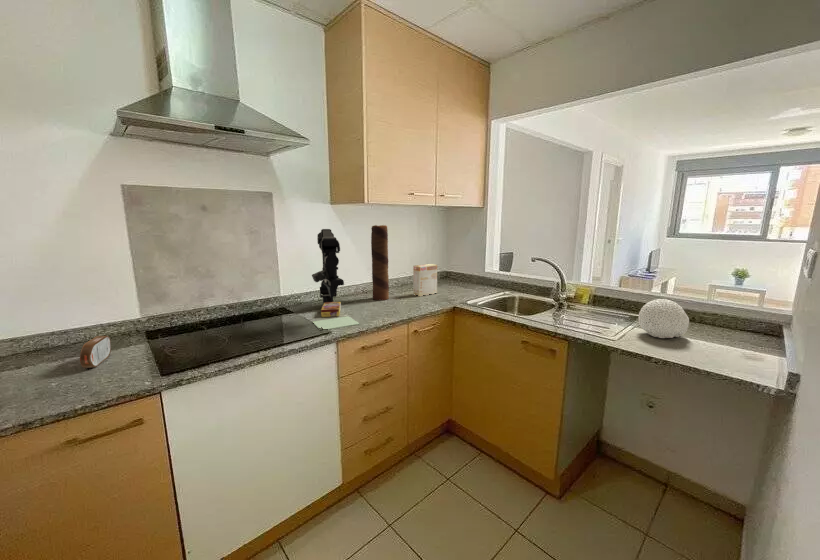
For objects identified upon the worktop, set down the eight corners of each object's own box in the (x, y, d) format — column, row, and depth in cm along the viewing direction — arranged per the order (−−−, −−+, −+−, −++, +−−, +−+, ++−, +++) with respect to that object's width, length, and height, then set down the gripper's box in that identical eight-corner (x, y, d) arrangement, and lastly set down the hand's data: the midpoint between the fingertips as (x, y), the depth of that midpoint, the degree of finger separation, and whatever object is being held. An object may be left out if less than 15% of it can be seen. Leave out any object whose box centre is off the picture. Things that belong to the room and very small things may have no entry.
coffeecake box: (430, 292, 222) (431, 263, 219) (437, 294, 216) (438, 264, 213) (412, 294, 214) (412, 265, 210) (419, 296, 208) (419, 266, 204)
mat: (312, 322, 154) (312, 321, 154) (348, 316, 163) (348, 316, 163) (321, 330, 143) (321, 330, 142) (359, 324, 152) (359, 323, 152)
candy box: (320, 308, 162) (324, 302, 177) (321, 317, 163) (324, 309, 177) (339, 308, 163) (340, 301, 178) (339, 316, 164) (341, 309, 179)
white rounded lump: (687, 327, 122) (672, 288, 130) (635, 337, 134) (624, 301, 142) (702, 340, 133) (687, 304, 141) (653, 349, 145) (642, 315, 153)
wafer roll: (375, 301, 195) (374, 225, 187) (370, 297, 204) (368, 225, 196) (391, 300, 199) (391, 225, 191) (385, 296, 208) (385, 225, 201)
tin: (103, 355, 116) (99, 332, 115) (114, 353, 117) (111, 331, 116) (80, 373, 102) (76, 347, 101) (93, 371, 104) (89, 346, 102)
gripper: (307, 263, 156) (309, 295, 158) (318, 268, 140) (320, 304, 143) (330, 262, 161) (331, 293, 164) (343, 266, 146) (344, 300, 149)
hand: (331, 297), depth 155 cm, fingers closed
